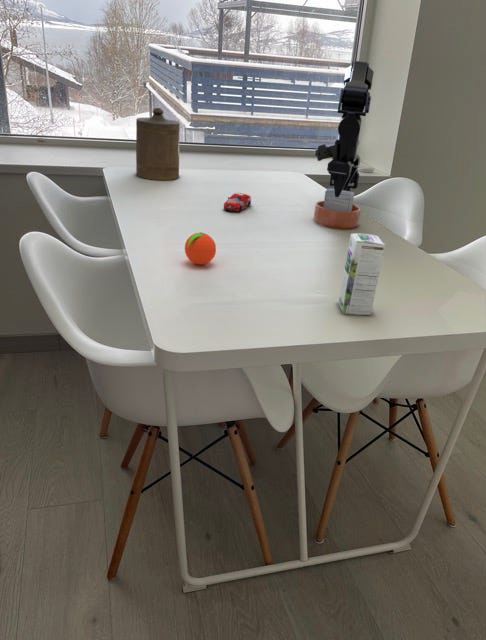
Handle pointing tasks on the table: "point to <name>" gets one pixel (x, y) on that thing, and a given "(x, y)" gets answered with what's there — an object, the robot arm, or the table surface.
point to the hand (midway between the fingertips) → (339, 194)
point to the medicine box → (338, 200)
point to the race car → (237, 202)
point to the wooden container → (157, 147)
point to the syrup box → (361, 274)
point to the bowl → (336, 217)
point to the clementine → (200, 248)
